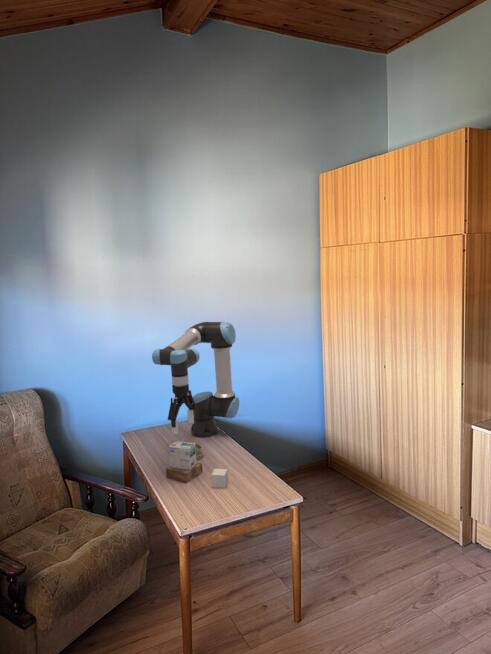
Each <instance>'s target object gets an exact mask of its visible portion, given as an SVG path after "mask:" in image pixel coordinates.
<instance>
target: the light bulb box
mask: <svg viewBox="0 0 491 654" xmlns="http://www.w3.org/2000/svg"><path fill="white" fill-rule="evenodd" d="M168 447H169V448H168V449H169V461H170V466H171V468H178V469H186V470H191V469H192V468H193V467H194V466H195V465H196V464H197V463H198V462H197V460H196V449H195V443H187V442H185V441H174V442H173V443H172V444H170V445H169V446H168ZM196 462H197V463H196Z"/></svg>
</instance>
